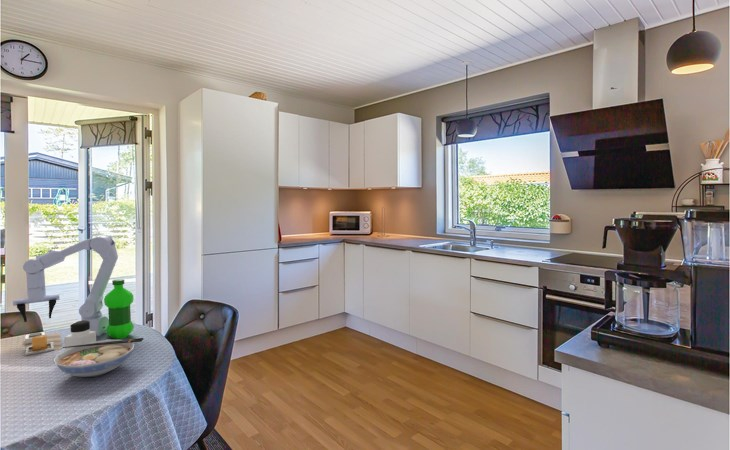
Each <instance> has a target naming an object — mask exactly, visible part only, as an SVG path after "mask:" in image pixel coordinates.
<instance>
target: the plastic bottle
mask: <svg viewBox="0 0 730 450" xmlns="http://www.w3.org/2000/svg"><path fill="white" fill-rule="evenodd" d="M111 284H112V286H113V288H112V290H110V291H109V292H108V293H107V294H106V295H105V296H104V297H103V299H104V300H103V301H104V303H103V304H104V305H105V306H106V307H107V311H108V312H107V313H108V319H109V325H108V327H107V329H106V331H107V332H106V334H107V335H108V336H109V337H110V338H112V340H124V339H125V338H128V337H129V335H130V334H131V333H132V332H133V331H134V324H133V322H132V316H131V312H132V311H131V305H132V304H133V302H134V294H133V292H131V291H130V290H128V289H126V288H124V284H125V279H124V278H118V279H113V280H112V283H111Z"/></svg>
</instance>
